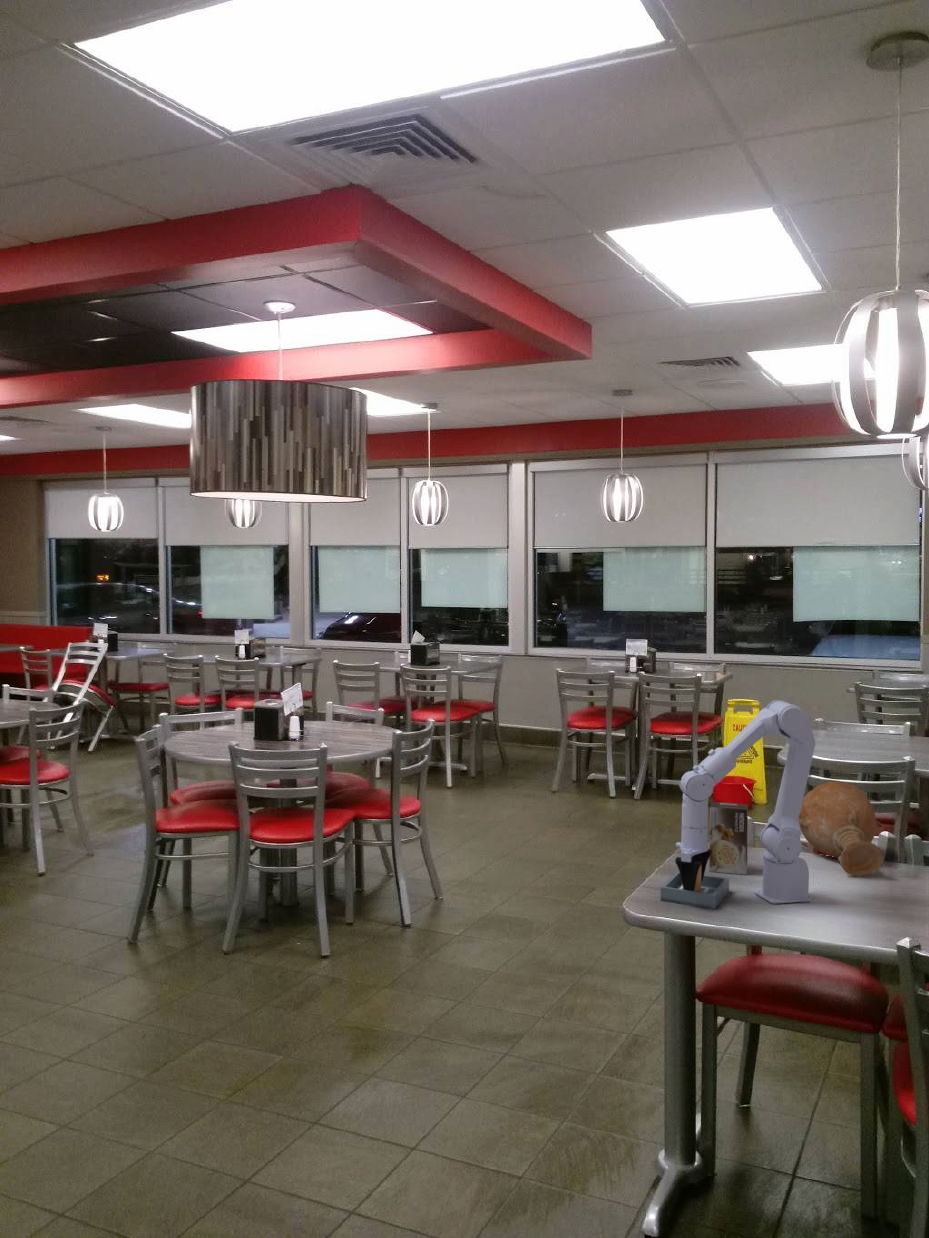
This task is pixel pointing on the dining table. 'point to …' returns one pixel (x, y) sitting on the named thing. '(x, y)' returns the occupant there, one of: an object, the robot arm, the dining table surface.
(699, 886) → the peg
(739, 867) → the coffee box
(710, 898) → the tray box
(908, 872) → the dining table surface
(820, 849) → the jug
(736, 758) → the robot arm
